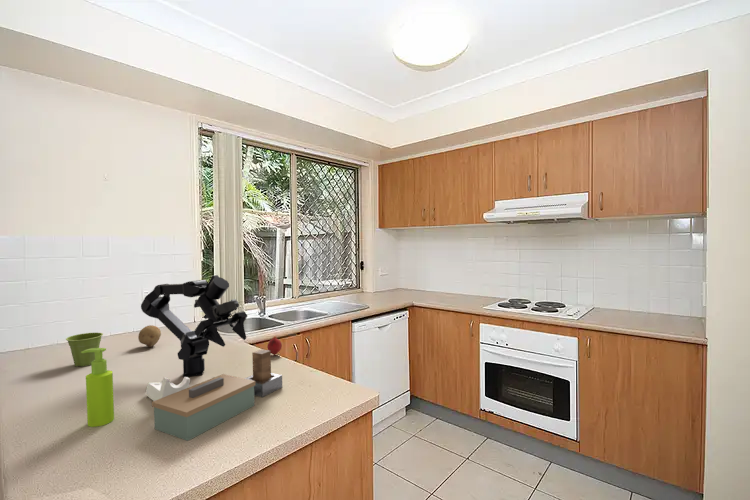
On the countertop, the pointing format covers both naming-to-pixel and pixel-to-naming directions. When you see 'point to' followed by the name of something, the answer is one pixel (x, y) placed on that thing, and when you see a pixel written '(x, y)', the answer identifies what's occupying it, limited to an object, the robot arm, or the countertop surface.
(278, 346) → the onion
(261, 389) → the grey shallow box
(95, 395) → the soap dispenser
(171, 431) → the toolbox
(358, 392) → the countertop surface
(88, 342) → the plant pot
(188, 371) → the robot arm
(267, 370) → the walnut key
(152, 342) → the potato
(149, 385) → the bracket
